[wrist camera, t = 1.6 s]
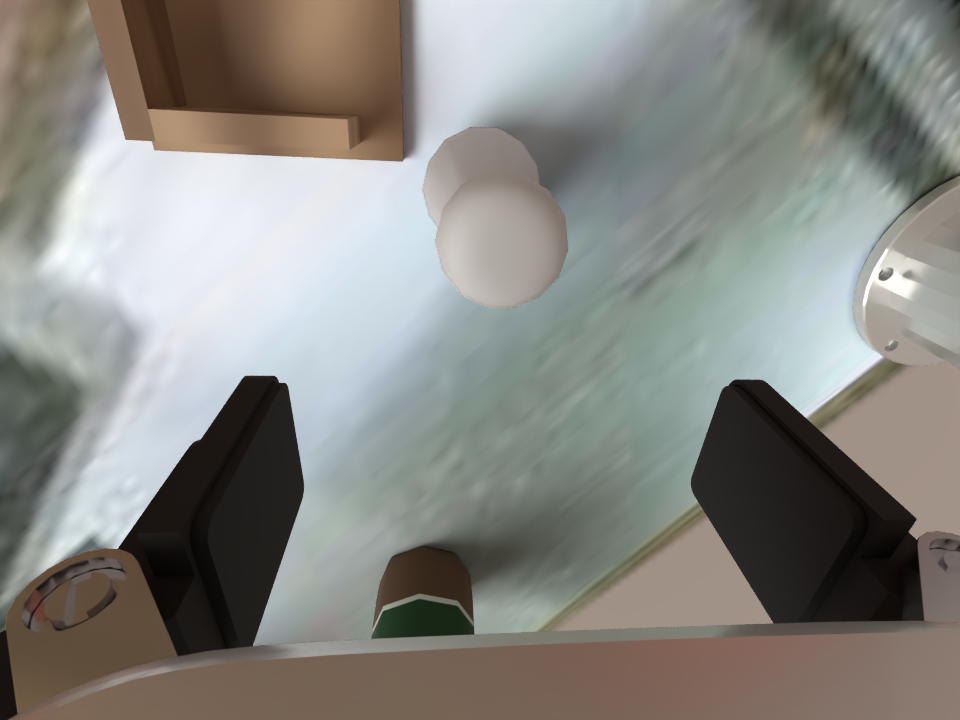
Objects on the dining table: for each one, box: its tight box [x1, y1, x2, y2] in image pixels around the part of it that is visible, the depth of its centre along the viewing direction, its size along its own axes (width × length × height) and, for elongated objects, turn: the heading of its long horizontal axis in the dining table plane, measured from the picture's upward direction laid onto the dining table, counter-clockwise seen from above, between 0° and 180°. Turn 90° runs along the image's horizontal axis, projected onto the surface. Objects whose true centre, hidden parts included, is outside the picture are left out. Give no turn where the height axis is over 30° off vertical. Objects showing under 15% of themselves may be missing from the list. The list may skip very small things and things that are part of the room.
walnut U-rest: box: [87, 0, 404, 162], centre depth 20 cm, size 12×12×4 cm
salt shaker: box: [422, 127, 568, 308], centre depth 21 cm, size 6×6×13 cm
